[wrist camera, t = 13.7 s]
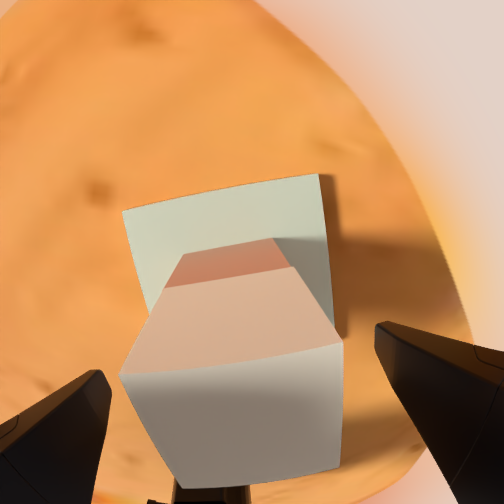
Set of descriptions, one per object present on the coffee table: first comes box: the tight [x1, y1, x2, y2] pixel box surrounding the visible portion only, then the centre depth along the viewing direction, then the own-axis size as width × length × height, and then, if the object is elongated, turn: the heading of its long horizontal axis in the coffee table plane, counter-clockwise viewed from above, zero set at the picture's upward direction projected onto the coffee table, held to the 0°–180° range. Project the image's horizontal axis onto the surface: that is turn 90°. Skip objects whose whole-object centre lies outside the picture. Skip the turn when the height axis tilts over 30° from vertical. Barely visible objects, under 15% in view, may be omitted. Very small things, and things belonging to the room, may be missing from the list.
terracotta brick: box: [162, 238, 291, 291], centre depth 13 cm, size 4×4×5 cm
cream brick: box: [118, 266, 343, 488], centre depth 8 cm, size 4×4×5 cm
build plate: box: [122, 174, 335, 328], centre depth 16 cm, size 10×10×1 cm
